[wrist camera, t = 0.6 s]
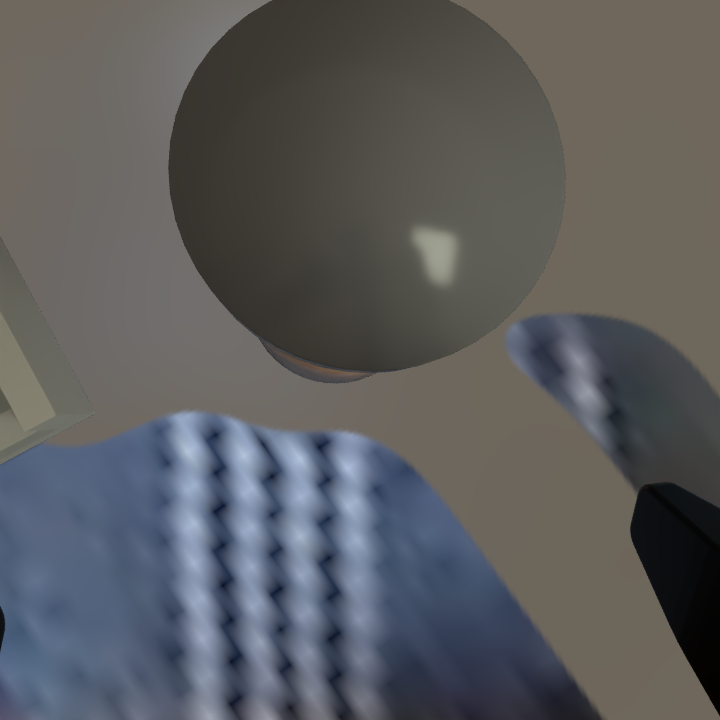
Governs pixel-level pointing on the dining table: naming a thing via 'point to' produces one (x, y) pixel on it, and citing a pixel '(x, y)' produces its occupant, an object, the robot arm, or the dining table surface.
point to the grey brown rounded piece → (366, 181)
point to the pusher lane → (32, 371)
